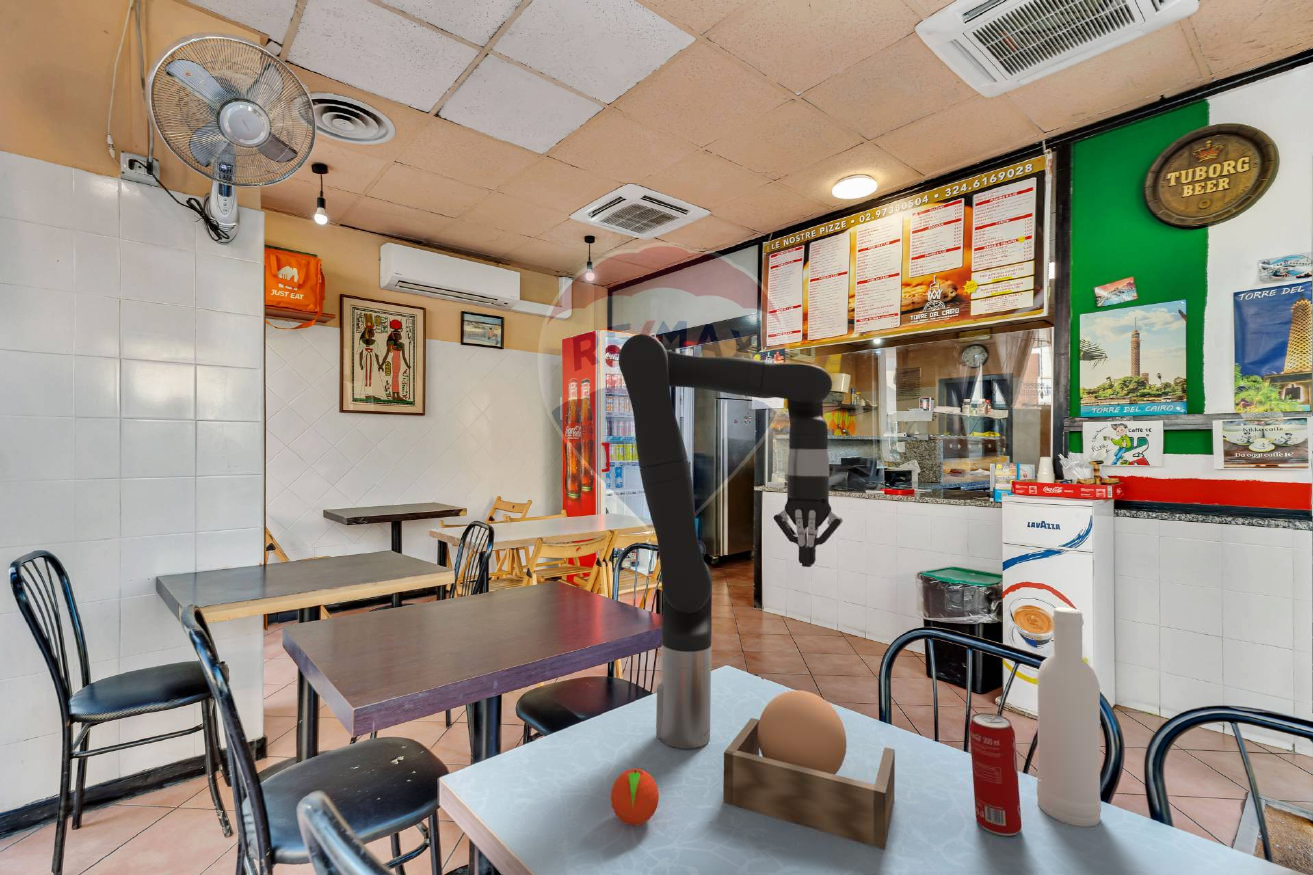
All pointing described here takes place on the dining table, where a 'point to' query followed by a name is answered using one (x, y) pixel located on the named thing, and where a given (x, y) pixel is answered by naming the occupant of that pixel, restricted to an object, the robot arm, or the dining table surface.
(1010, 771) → the beverage can
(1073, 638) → the bottle
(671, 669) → the robot arm
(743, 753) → the pocket
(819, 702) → the ball
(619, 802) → the clementine
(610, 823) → the dining table surface
